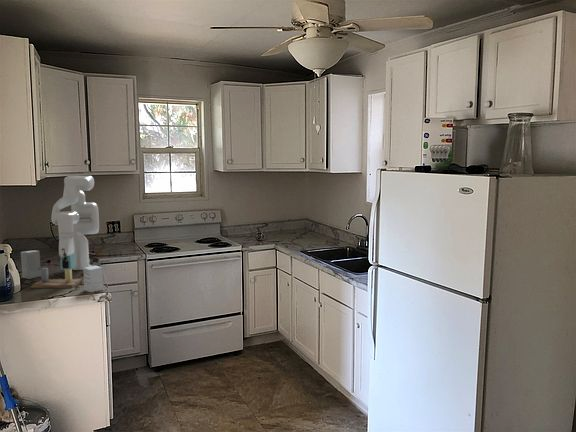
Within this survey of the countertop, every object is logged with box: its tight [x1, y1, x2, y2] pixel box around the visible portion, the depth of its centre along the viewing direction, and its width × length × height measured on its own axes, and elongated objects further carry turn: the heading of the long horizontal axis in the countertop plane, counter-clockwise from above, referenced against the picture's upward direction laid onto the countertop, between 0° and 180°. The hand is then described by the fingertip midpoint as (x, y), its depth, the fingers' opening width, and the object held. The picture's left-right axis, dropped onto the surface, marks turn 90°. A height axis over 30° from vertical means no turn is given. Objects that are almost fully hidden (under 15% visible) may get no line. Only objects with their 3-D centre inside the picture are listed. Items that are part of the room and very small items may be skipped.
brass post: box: [64, 269, 73, 283], centre depth 266 cm, size 3×3×8 cm
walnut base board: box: [30, 278, 83, 289], centre depth 266 cm, size 14×22×2 cm, turn 93°
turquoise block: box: [59, 254, 75, 270], centre depth 265 cm, size 6×6×8 cm
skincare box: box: [20, 249, 42, 280], centre depth 282 cm, size 8×7×16 cm
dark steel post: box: [40, 267, 50, 283], centre depth 265 cm, size 3×3×8 cm
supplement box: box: [82, 265, 104, 294], centre depth 255 cm, size 7×7×13 cm
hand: (67, 266), depth 265 cm, fingers closed on turquoise block, 5 cm apart
